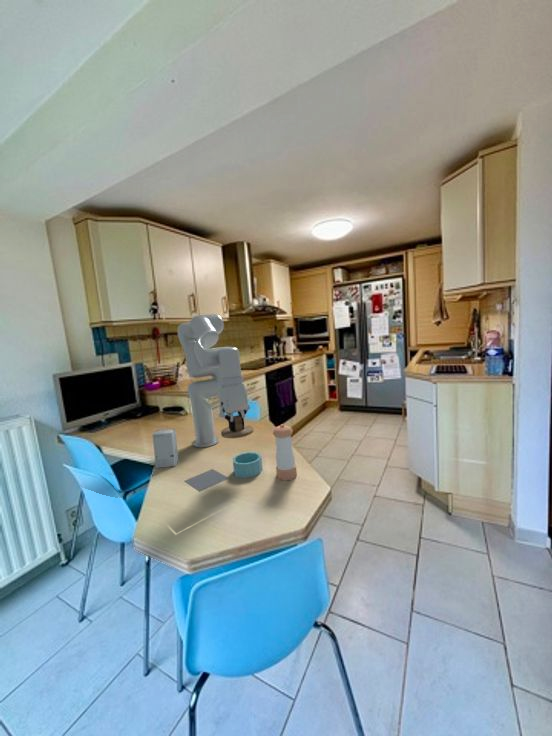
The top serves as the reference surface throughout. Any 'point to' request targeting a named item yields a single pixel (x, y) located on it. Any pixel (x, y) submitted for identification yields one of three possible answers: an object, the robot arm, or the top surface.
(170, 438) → the skincare box
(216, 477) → the mat
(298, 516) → the top surface
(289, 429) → the salt shaker
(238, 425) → the lid
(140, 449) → the top surface
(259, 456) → the bowl
